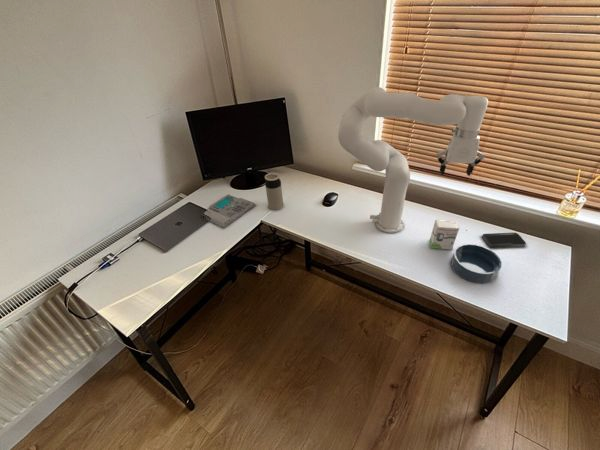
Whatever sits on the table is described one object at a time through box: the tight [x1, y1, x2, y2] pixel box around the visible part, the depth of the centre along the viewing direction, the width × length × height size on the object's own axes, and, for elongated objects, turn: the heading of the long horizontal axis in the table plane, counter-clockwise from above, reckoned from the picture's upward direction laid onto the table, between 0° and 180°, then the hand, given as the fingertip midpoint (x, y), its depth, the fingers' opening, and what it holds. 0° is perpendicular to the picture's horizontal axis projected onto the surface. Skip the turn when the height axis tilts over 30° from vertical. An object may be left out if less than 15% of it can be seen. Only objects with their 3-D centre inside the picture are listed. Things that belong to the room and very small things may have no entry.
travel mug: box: [264, 172, 284, 211], centre depth 155 cm, size 8×8×18 cm
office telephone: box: [203, 193, 256, 229], centre depth 159 cm, size 23×3×20 cm
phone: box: [481, 232, 527, 249], centre depth 130 cm, size 8×1×15 cm
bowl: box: [450, 243, 502, 284], centre depth 118 cm, size 16×16×6 cm
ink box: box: [429, 219, 460, 250], centre depth 127 cm, size 9×5×12 cm, turn 79°
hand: (454, 173), depth 122 cm, fingers open, 9 cm apart
